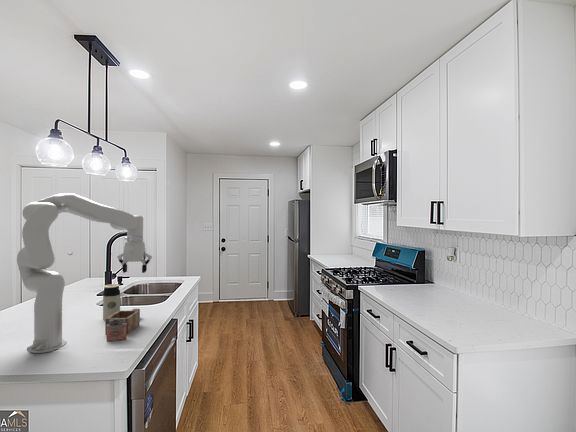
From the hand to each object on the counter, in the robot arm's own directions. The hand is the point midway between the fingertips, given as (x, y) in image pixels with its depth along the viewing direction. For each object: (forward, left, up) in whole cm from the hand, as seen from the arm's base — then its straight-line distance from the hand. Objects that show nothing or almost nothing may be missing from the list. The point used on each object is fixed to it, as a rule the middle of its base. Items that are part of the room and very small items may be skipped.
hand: (134, 272), depth 176 cm
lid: (0, 0, -26) cm, 26 cm away
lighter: (-29, -4, -26) cm, 39 cm away
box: (-16, -1, -25) cm, 30 cm away
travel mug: (+2, +13, -26) cm, 29 cm away
